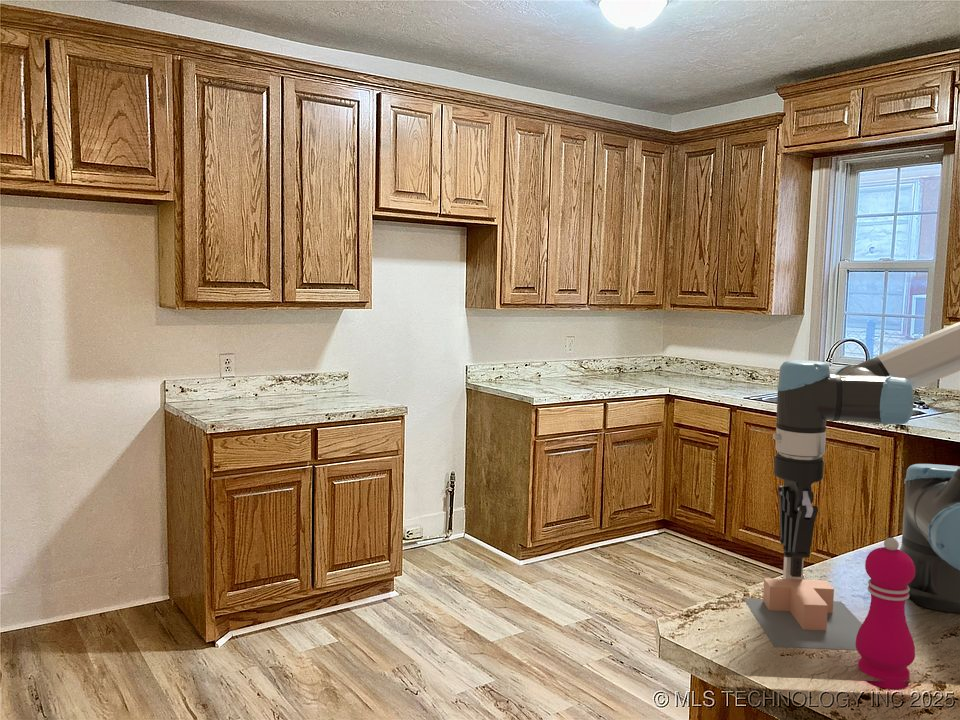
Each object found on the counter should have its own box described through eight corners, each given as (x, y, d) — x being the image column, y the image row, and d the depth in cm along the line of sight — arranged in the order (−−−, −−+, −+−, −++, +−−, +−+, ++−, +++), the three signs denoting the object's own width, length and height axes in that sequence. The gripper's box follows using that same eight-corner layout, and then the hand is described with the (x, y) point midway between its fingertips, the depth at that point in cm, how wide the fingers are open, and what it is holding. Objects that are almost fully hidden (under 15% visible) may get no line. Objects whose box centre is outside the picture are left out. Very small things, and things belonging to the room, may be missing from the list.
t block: (824, 603, 125) (826, 580, 125) (848, 631, 115) (850, 606, 115) (763, 601, 126) (764, 578, 125) (781, 628, 116) (782, 603, 116)
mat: (840, 608, 126) (840, 601, 126) (887, 658, 109) (887, 651, 109) (742, 604, 127) (743, 598, 127) (774, 654, 110) (774, 646, 110)
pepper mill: (888, 696, 99) (897, 550, 97) (842, 670, 106) (849, 533, 104) (925, 685, 102) (934, 542, 100) (878, 660, 109) (886, 526, 106)
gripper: (764, 445, 130) (758, 576, 133) (788, 463, 117) (780, 608, 120) (809, 446, 130) (802, 577, 132) (837, 464, 117) (829, 610, 119)
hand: (792, 592), depth 126 cm, fingers closed
